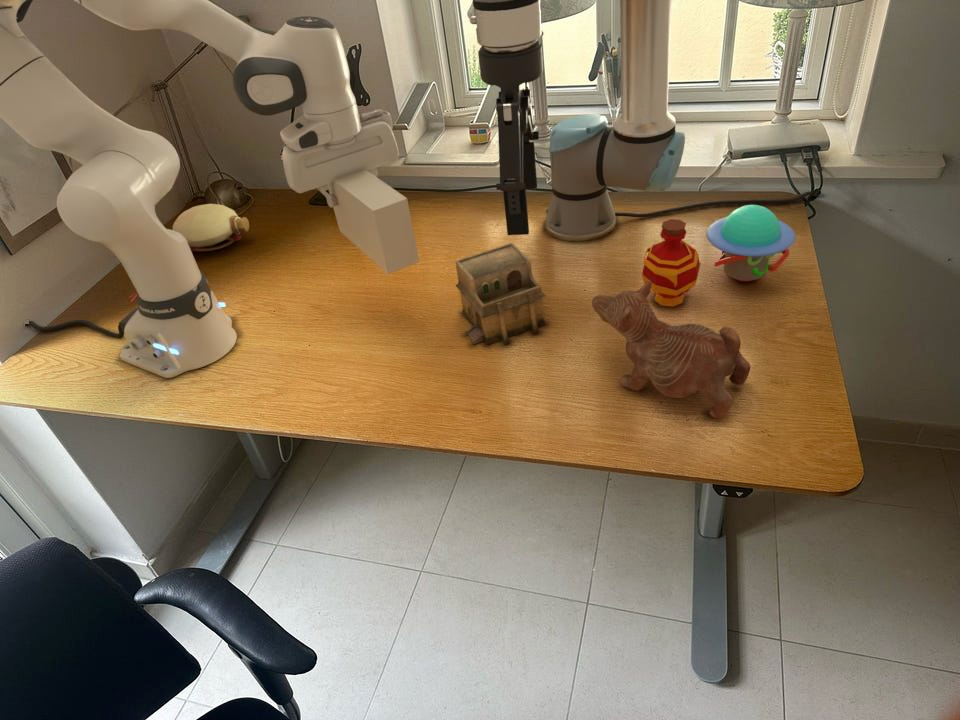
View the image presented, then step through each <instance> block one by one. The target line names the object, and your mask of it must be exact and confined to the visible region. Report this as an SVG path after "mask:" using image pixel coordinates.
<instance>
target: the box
mask: <svg viewBox="0 0 960 720" xmlns="http://www.w3.org/2000/svg"><path fill="white" fill-rule="evenodd" d="M327 185H328V194H329V195H330V194H334V195H335V196H336V197H337V202H338V205H337V206H334V207H332V208H333V211H334V215H335V219H336V222H337V226H338V230H339V232H340V233H341V234H342V235H343V236H345V238H346V239H348V240H349V242H351V243H352V244H353V245H354V246H355V247H356V248H358V249H359V250H360V251H361V252H362V253H363V254H364V255H365V256H366V257H367V258H368V259H370V261H372V262H373V263H375V265H376V266H377V267H379V268H380V269H381V270H382V272H384V273H385V274H386V275H388V276H389V275H391V274H393V273H396V272H399V271H401V270H403V269H406V268H409V267H411V266H413V265H416V264H418V263H420V257H419V252H418V247H417V242H416V236H415V231H414V226H413V222H412V217H411V211H410V206H409V200H408V198H407V197H406V196H404V195H403V194H402V193H400V192H399V191H397V190H396V189H395V188H393V187H392V186H390V185H389V184H387V183H386V182H384V181H383V180H381V179H380V178H378V176H377V177H375V176H374V175H373V174H371V173H370V172H368V171H367V170H365V169H364V170H362V171H359V172H356V173H353V174H350V175H347V176H344V177H341V178H338V179H335V180H334V182H333V183H330V184H327Z"/></svg>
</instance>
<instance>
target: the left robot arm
mask: <svg viewBox="0 0 960 720" xmlns="http://www.w3.org/2000/svg"><path fill="white" fill-rule="evenodd" d="M33 1H34V0H0V119H1V120H2V121H4V123H6V124H7V125H8V126H9V127H10V128H11V129H12V130H13V131H14V132H16V134H18V135H19V136H20V137H21V138H22V139H23V140H24V141H25V142H26V143H27V144H29V145H30V146H32V147H34V148H36V149H38V150H44V151H52V152H57V153H60V154H62V155H65V156H67V157H69V158H71V159H73V160H75V161H76V162H78V163H79V164H81V166H80V167H78V169H76V170H75V171H73V173H71V174H70V176H69V177H68V178H67V180H66V181H65V183H64V184H63V186H62V187H61V189H60V191H59V192H58V195H57V197H56V209H57V212H58V214H59V216H60V219H61V220H62V221H63V223H64V224H65V225H66V227H67V228H68V229H69V230H71V232H73V233H74V234H76V235H77V236H79V237H81V238H82V239H85V240H88V241H91V242H95V243H99V244H102V245H103V246H105V247H106V248H108V250H109V251H111V252H112V254H113V255H114V256H115V257H116V258H117V259H118V260H119V262H120V263H121V265H122V267H123V269H124V271H125V272H126V274H127V276H128V278H129V279H130V281H131V283H132V285H133V287H134V289H135V292H134V293H133V294H131V295H130V296H129V297H128V299H130V298H132V299H131V300H130V302H131V303H133V302H134V301H136V300H137V308H136V307H135V308H134V309H132V311H131V312H129V313H128V314H127V315H126V316H124V318H122V319H121V320H120V321H119V322H118V325H117V330H118V333H116V332H113V331H111V330H108V329H106V328H104V327H100V326H98V325H96V324H95V323H94V322H92V321H89V320H86V319H75V320H69V321H66V322H61V323H58V324H55V325H50V326H41V325H39V324H37V323H35V322H34V321H33V320H31V321H29V324H25V326H24V327H28V326H30V327H31V328H33V329H35V330H37V331H40V332H52V331H57V330H61V329H64V328H67V327H68V328H69V327H72V326H76V325H84V326H87V327H89V328H90V329H93V330H94V331H96V332H98V333H101V334H104V335H106V336H108V337H111V338H113V339H121V338H123V337H124V338H125V340H126V341H127V342H126V344H125V345H124V346H123V347H122V349H121V351H120V354H119V358H120V360H121V361H123V362H125V363H127V364H130V365H132V366H135V367H137V368H140V369H143V370H145V371H148V372H150V373H152V374H155V375H158V376H159V377H162V378H165V379H171V378H174V377H177V376H179V375H181V374H183V373H186V372H189V371H192V370H197V369H200V368H204V367H206V366H208V365H211V364H213V363H214V362H217V361H218V360H220V359H221V358H223V357H224V356H226V355H227V354H228V353H229V352H230V351H231V350H232V349H233V347H234V346H235V345H236V342H237V339H238V334H237V332H236V330H235V329H234V328H233V320H232V318H231V316H230V315H227V314H226V313H225V312H224V310H223V309H224V308H225V307H226V302H220V301H219V300H218V299H217V297H216V294H214V292H213V291H212V290H211V287H210V284H209V281H208V279H207V278H206V276H205V274H204V272H202V271H201V270H200V269H199V265H198V264H197V261H196V259H195V256H194V255H193V251H192V250H191V246H189V245H188V243H187V240H186V239H185V237H184V236H183V235H182V234H180V233H178V232H176V231H174V230H172V229H169V228H166V227H165V226H164V224H163V223H162V222H161V220H160V219H159V217H158V216H157V212H156V205H157V204H158V203H159V202H160V201H161V200H162V199H163V198H164V197H165V196H166V195H167V194H168V193H169V192H170V191H171V190H172V188H173V186H174V185H175V182H176V180H177V178H178V175H179V172H180V169H181V161H180V156H179V154H178V152H177V150H176V148H175V147H174V146H173V144H172V143H171V142H170V141H169V140H168V139H166V138H165V137H164V136H162V135H161V134H158V133H156V132H154V131H150V130H144V129H140V128H138V127H135V126H133V125H130V124H128V123H126V122H125V121H123V120H121V119H119V118H117V117H116V116H114V115H113V114H112V113H110V112H108V111H106V110H105V109H103V108H102V107H101V106H99V105H98V104H96V103H95V102H94V101H93V100H92V99H90V98H89V97H88V96H87V95H86V94H85V93H83V91H81V90H80V89H79V88H78V87H77V86H76V85H75V84H74V83H73V82H72V81H71V80H70V79H69V78H68V77H67V76H66V75H65V74H64V73H62V71H61V70H60V69H59V68H58V67H57V66H56V65H54V63H52V61H51V60H50V59H49V58H48V57H46V56H45V54H44V53H43V52H42V51H40V49H39V48H37V47H36V45H35V44H34V43H32V41H30V40H29V38H28V37H27V35H25V34H24V33H23V31H22V30H21V28H20V26H19V24H18V23H21V22H22V21H23V20H24V19H25V17H26V15H27V13H28V11H29V8H30V6H31V5H32V3H33ZM73 1H74V2H75V3H77V4H79V5H80V6H82V7H83V8H85V9H87V10H88V11H89V12H91V13H93V14H95V15H96V16H99V18H102V19H103V20H106V21H108V22H110V23H112V24H115V25H116V26H119V27H122V28H124V29H127V30H130V31H146V30H172V31H179V32H182V33H185V34H187V35H189V36H192V37H193V38H196V39H197V40H199V41H200V42H203V43H204V44H206V45H208V46H210V47H211V48H213V49H215V50H216V51H218V52H220V53H222V54H223V55H225V56H226V57H229V58H230V59H232V60H234V61H235V62H236V63H237V64H236V66H235V68H234V71H233V73H232V81H231V82H232V88H233V91H234V94H235V96H236V98H237V99H238V101H239V102H240V103H241V104H242V106H243V107H245V108H246V109H247V110H249V111H250V112H252V113H254V114H257V115H259V116H264V117H265V116H269V117H270V116H274V115H279V114H281V113H285V112H288V111H290V110H293V109H295V108H297V107H301V109H302V114H301V116H300V117H298V118H296V119H295V120H294V121H293V122H291V123H290V124H288V125H287V126H285V127H284V128H283V129H281V130H280V133H279V134H280V138H281V141H282V142H283V143H284V144H285V146H284V147H283V149H282V154H281V155H282V157H281V158H282V164H283V170H284V175H285V178H286V183H287V185H288V187H289V188H290V189H291V190H293V191H294V192H296V193H298V194H303V193H306V192H309V191H312V190H315V189H316V190H318V192H319V193H321V194H322V195H323V196H324V197H325V198H326V199H325V200H326V204H327V205H328V207H330V208H331V209H332V208H333V207H334V206H337V205H338V202H337V197H336V196H335V195H334V194H330V193H329V192H327V191H329V189H328V185H327V184H330V183H333V182H334V180H335V179H338V178H341V177H344V176H347V175H350V174H353V173H356V172H359V171H362V170H364V169H365V170H367V171H368V172H370V173H371V174H373V175H374V176H375V177H377V178H378V175H379V169H378V168H380V167H383V166H386V165H388V164H392V163H395V162H397V161H398V159H399V156H400V151H399V148H398V143H397V140H396V138H395V134H394V132H393V127H394V126H393V125H394V124H393V120H392V116H391V114H390V113H389V112H388V111H386V110H382V108H377V109H374V110H373V111H368V112H364V113H360V114H359V109H358V105H357V99H356V96H355V94H354V93H353V90H352V87H351V83H350V82H351V81H350V80H351V74H350V73H351V71H350V68H349V63H348V60H347V59H348V58H347V56H346V51H345V48H344V45H343V42H342V38H341V36H340V34H339V32H338V30H337V28H336V27H335V25H334V24H332V23H331V22H330V21H329V20H327V19H325V18H322V17H317V16H310V15H309V16H308V15H307V16H306V15H305V16H296V17H295V16H294V17H291V18H290V19H287V20H286V21H285V22H284V24H283V26H282V27H281V28H279V30H278V31H275V30H271V29H265V28H261V27H258V26H255V25H253V24H251V23H249V22H247V21H246V20H244V19H243V18H241V17H240V16H238V15H236V14H234V13H233V12H231V11H229V10H228V9H226V8H224V7H223V6H221V5H220V4H218V3H216V2H214V1H213V0H73Z"/></svg>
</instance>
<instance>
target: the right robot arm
mask: <svg viewBox="0 0 960 720" xmlns="http://www.w3.org/2000/svg"><path fill="white" fill-rule="evenodd" d="M672 1H673V0H619V25H620V26H619V29H620V30H619V31H620V33H619V34H620V35H619V37H620V40H619V41H620V47H619V48H620V115H618V117H617V118H616V119H615V120H614V121H613V124H612V126H609V121H608V119H607V117H606V116H605V115H602V114H598V113H589V114H588V113H587V114H581V115H576V116H572V117H570V118H566V119H564V120H562V121H560V122H558V123H557V124H555V125H554V126H553V128H552V129H551V131H550V132H549V133H550V134H549V147H548V152H549V159H550V174H551V175H550V176H551V178H550V179H551V188H552V189H551V190H552V191H551V193H552V194H551V198H550V202H549V206H548V208H547V209H546V211H545V215H546V216H545V229H546V232H547V233H548V234H549V236H550V235H551V236H552V237H553V238H556V239H558V240H561V241H567V242H586V241H587V242H588V241H594V240H597V239H600V238H604V237H605V236H607V235H608V234H610V233H611V232H613V230H614V229H615V227H616V223H617V218H616V217H629V218H648V217H655V216H661V215H665V214H670V213H674V212H680V211H687V210H691V209H695V208H702V207H709V206H719V205H720V206H721V205H751V204H785V203H793V202H797V201H800V200H801V199H803V198H806V197H807V196H812V197H814V198H819V197H820V195H819V194H818V195H817V196H813V195H812V194H811V191H810V190H809V191H805V192H803V193H801V194H799V195H797V196H794V197H790V198H788V197H787V198H779V199H778V198H775V199H774V198H773V199H772V198H771V199H769V198H768V199H767V198H765V199H763V198H762V199H730V200H715V201H713V200H712V201H706V202H699V203H693V204H688V205H683V206H677V207H671V208H667V209H661V210H658V211H657V210H656V211H652V212H644V213H643V212H642V213H641V212H640V213H635V212H615V209H614V205H613V204H612V200H611V198H610V195H609V192H608V188H609V187H610V188H617V189H627V190H635V191H644V192H665V191H667V190H668V189H670V187H671V186H672V184H673V183H674V181H675V179H676V176H677V174H678V171H679V168H680V166H681V163H682V159H683V154H684V150H685V143H686V135H685V132H684V131H681V130H680V129H677V130H676V123H677V122H676V118H675V116H674V115H673V114H671V113H670V112H669V110H668V107H669V84H670V83H669V82H670V81H669V80H670V57H671V55H670V51H671V28H672V27H671V26H672ZM472 6H473V13H474V14H473V15H470V16H469V23H470V24H471V25H476V28H475V33H476V34H475V35H476V42H477V44H478V45H479V46H480V48H479V50H478V51H477V54H478V56H477V57H478V65H479V73H480V74H479V75H480V79H481V81H482V82H483V83H484V84H486V85H489V86H495V87H498V88H499V89H500V91H498V97H496V99H495V111H496V118H497V133H498V161H499V166H498V167H499V182H498V183H495V188H496V190H497V191H500V192H502V193H503V202H504V203H503V204H504V213H505V224H506V232H507V234H506V235H507V236H524V235H526V236H527V235H529V234H530V225H529V215H528V214H529V213H528V212H529V211H528V201H527V189H537V188H538V177H537V164H536V163H537V162H536V150H535V148H536V147H535V141H538V140H540V132H539V131H536V130H535V128H536V125H535V121H534V115H533V106H532V89H531V88H530V83H531V82H534V81H535V80H538V79H539V78H540V77H541V76H542V74H543V73H544V61H543V45H542V43H541V42H540V41H539V39H540V37H542V17H541V16H542V15H541V0H472Z"/></svg>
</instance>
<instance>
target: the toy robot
mask: <svg viewBox="0 0 960 720" xmlns="http://www.w3.org/2000/svg"><path fill="white" fill-rule="evenodd" d="M705 233H706V234H705V235H706V236H705V237H706V239H707V240H708V243H710V244H711V245H712V246H713V247H715V248H716V249H718V250H719V251H721V256H719V257H718V258H717V259H716V261H714V268H716V267H720V266H723V267H722V268H723V272H724V273H725V275H727V276H728V277H730V278H732V279H735V280H737V281H740V282H746V283H747V282H751V281H756V280H759V279H761V278H763V277H765V276H766V275H767V273H768V271H770V272H772V273H774V272H776V271H777V269H778V268H779V267H780V266H781V264H782V263H783V262H785V260H786V259H787V258H788V257H789V255H790V250H789V248H791V246H792V245H793V244H795V242H796V234H795V233H796V232H795V231H794V230H793V229H792V227H791V226H789V225H788V224H787V223H786V222H784V221H781V220H780V219H778V217H777V216H776V214H775V213H774V212H772V211H771V210H770V209H768V208H767V207H765V206H762V205H758V204H745V205H743V206H740V207H738V208H736V209H734V210H733V211H732V212H730V213H729V215H728V216H726V217H722V218H720V219H717V220H715V221H714V222H713V223H711V224H710V225H709V227H707V229H706V232H705ZM780 253H781V254H782V255H781V257H779V259H777V261H776V262H774V263H772V264H770V259H771V258H773V257H775V255H778V254H780Z"/></svg>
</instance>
